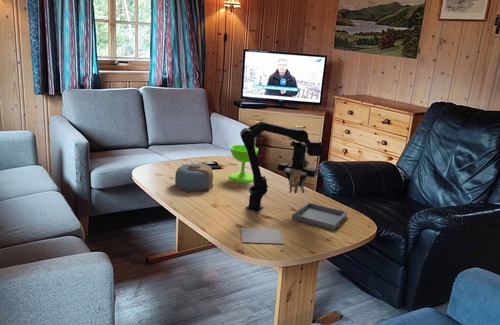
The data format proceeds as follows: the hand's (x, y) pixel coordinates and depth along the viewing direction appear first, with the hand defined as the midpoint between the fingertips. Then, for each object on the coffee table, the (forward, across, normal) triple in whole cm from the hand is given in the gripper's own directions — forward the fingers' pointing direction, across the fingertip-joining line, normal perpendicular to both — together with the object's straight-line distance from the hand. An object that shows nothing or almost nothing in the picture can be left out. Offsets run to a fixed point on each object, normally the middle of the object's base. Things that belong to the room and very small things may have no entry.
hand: (295, 186), depth 213 cm
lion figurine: (+3, -1, +1) cm, 3 cm away
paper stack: (+12, -2, +31) cm, 33 cm away
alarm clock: (+12, +57, +2) cm, 58 cm away
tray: (+12, -14, +2) cm, 19 cm away
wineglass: (+12, +43, -28) cm, 53 cm away
